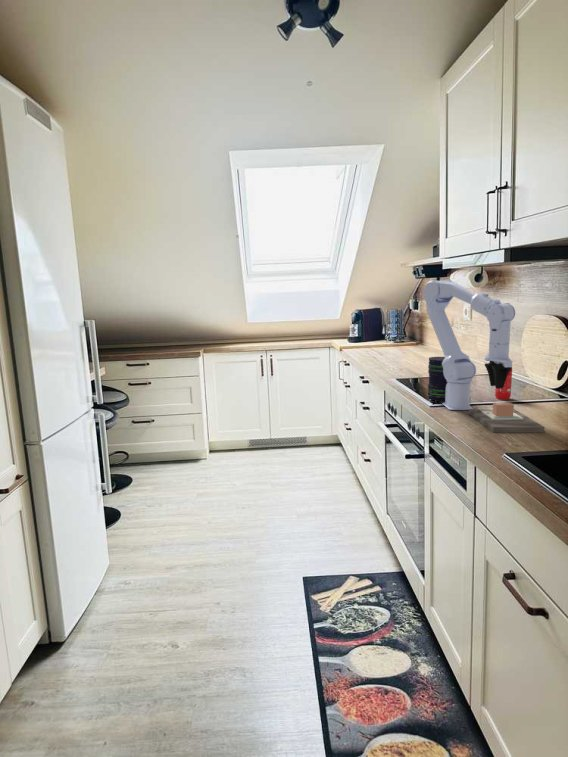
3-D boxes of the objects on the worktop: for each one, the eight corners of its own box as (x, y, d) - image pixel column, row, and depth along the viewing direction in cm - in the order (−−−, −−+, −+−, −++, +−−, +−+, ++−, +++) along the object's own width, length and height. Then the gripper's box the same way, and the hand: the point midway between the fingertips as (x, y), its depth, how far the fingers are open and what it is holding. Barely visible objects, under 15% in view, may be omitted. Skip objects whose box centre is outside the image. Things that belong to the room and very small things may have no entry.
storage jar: (452, 396, 192) (453, 356, 189) (458, 402, 182) (460, 360, 180) (425, 396, 193) (426, 356, 190) (429, 401, 183) (431, 360, 181)
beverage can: (501, 400, 183) (503, 367, 181) (491, 397, 188) (493, 365, 186) (513, 399, 185) (515, 366, 183) (503, 396, 190) (505, 364, 188)
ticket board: (468, 413, 166) (468, 407, 165) (512, 413, 165) (513, 407, 165) (493, 432, 144) (493, 425, 144) (544, 432, 143) (544, 425, 143)
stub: (485, 414, 157) (485, 402, 157) (515, 414, 157) (515, 402, 156) (492, 419, 152) (493, 406, 151) (523, 419, 151) (524, 406, 150)
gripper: (476, 341, 165) (474, 382, 167) (496, 346, 150) (493, 391, 153) (498, 340, 165) (496, 382, 167) (520, 345, 150) (517, 391, 153)
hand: (496, 386), depth 160 cm, fingers open, 3 cm apart
